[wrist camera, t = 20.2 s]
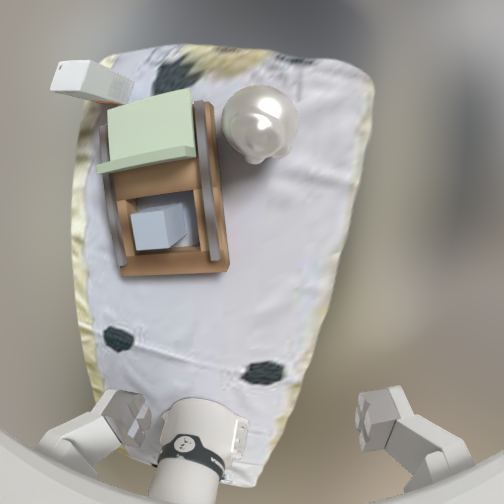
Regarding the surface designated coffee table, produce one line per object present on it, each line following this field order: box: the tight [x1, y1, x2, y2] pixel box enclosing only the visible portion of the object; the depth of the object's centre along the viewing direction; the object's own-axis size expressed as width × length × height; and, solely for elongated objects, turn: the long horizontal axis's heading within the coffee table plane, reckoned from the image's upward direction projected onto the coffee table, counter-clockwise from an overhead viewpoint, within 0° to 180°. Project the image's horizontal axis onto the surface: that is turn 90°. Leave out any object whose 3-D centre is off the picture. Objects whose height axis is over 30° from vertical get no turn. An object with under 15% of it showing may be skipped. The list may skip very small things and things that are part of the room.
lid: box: [96, 88, 197, 174], centre depth 30 cm, size 9×12×4 cm
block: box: [131, 203, 186, 250], centre depth 35 cm, size 4×4×7 cm
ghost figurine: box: [221, 85, 298, 164], centre depth 29 cm, size 9×10×10 cm
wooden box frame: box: [99, 100, 230, 276], centre depth 35 cm, size 22×16×4 cm
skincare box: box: [50, 60, 134, 105], centre depth 28 cm, size 6×4×12 cm
